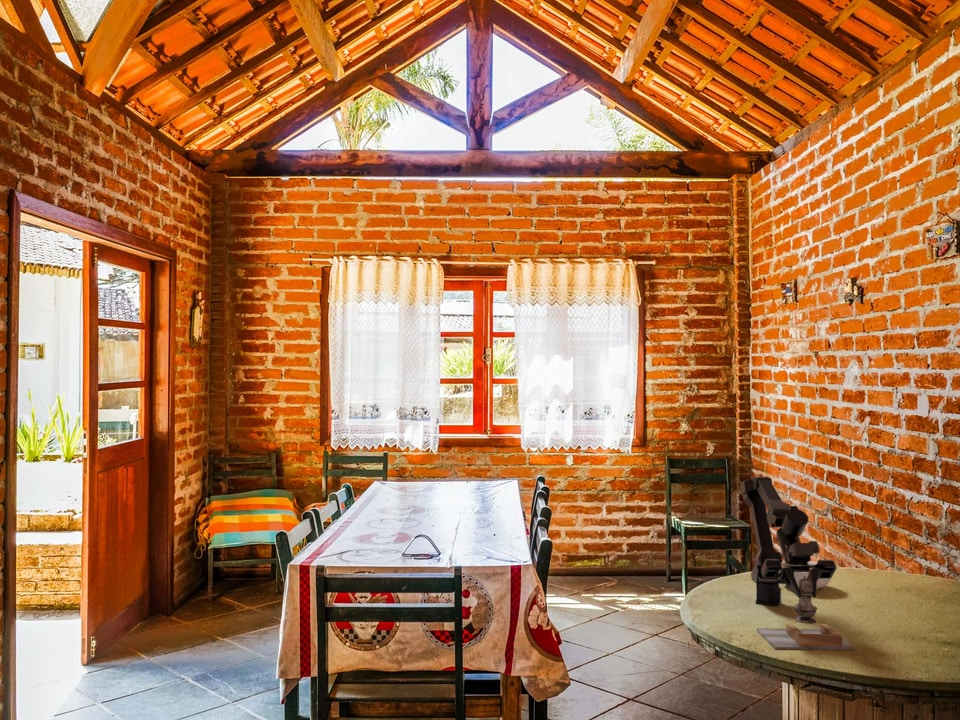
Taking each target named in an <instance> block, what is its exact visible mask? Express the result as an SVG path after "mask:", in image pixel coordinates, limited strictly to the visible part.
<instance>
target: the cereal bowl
mask: <svg viewBox="0 0 960 720" xmlns="http://www.w3.org/2000/svg"><path fill="white" fill-rule="evenodd" d="M782 561H783V563H785V561H784V560H782ZM817 562H818V561H812V560H810V562H808V564H812V565H816V564H817ZM804 576H806V579H807V577H808V574H807V572H794V577H795V579H796V582H797V585H798V588H799V581H800V580H801V579H803V578H804ZM831 581H832V578H829V579H818V580H817V585H816V590H818V589H819V588H824V587H825V586H827V585H828V584H829V583H830V582H831Z"/></svg>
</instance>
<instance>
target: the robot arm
mask: <svg viewBox="0 0 960 720" xmlns="http://www.w3.org/2000/svg"><path fill="white" fill-rule="evenodd" d="M739 491H740V495H742V499H743V502H744V503H745V504H746V505H747V506H748V507H749V509H750V513H751V518H752V524H753V531H754V536H755V541H756V546H757V555H756V556H755V559H754V564H753V567H752V570H751V571H750V577H751V581H752V582H754V583H755V584H756V589H755V590H756V591H755V592H756V593H755V595H756V596H755V597H756V600H755V604H760V605H761V604H762V605H768V606H776V607H777V606H779V604H780V603H782V602H781V601H782V587H780V584H781V585H785V586H787V587H788V589H790V590H791V591H792V592H793V594H794V596H796V597H797V598H798V599H799V598H800V597H801V594H800V590H799V588H798V585H797V582H796V579H795V577H794V572H807V574H808V577H807V579H808V580H809V581H810V582H811V593H812V595H811V597H812V598H813V599H815V598H816V597H817V589H816V585H817V580H818V579H829V578H831V579H833V578H832V577H833V575H834V574H835V572H836V570H837V568H838V567H837V565H836V562H835V561H834V560H832V559H818V561H816V562H817V564H816V565H812V564H808V562H810V561H812V560H811V559H812V558H811V557H813V556H815V555H817V554H819V553H820V546H819V543H818V541H817V540H810V541H808V542H802V541H801V539H800V536H802V535H803V533H804V531H805V530H806V527H807V525H808V523H809V516H808V515H807V514H806V512H804V511H803V510H802V509H799V508H798V506H797V505H791V504H789V503H787V502H785V501H783V500H782V498H781V496H780V494H779V493H778V491H777V489H776V488H775V486H774V484H773V480H772V478H771V477H770V476H769V477H768V476H755V477H753V478H751V479H744V480H743V481H742V482H741V483H740V484H739ZM771 528H778V529H777V531H776V539H775V540H776V541H777V542H778V544H779V548H780V551H781V552H779V551H777V550H776V549H775V547H774V543H773V537H772V533H771ZM783 561H785V563H783Z"/></svg>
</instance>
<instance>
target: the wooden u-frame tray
mask: <svg viewBox="0 0 960 720" xmlns="http://www.w3.org/2000/svg"><path fill="white" fill-rule="evenodd" d="M785 624H786V626H785V628H766V627H765V628H762V627H761V628H757V627H756V631H757V633H758V634H759V633H760V636H761V637H762V638H763V639H764V640H765V641H766V642H767V643H768V644H769V645H770V646H771V647H772V648H773V650H774V649H775V650H811V649H814V650H818V649H821V650H822V651H824V650H826V651H827V650H829V651H856V648H855V646H854V645H852V644H851V643H850V642H848V641H847V640H845V639H844V638H843V636H842V635H841V634H839V632H837V631H836V630H835V629H833V628H832V627H831V626H829V625H828V624H827V623H820V628H797V626H796V625H794V624H793V623H785ZM821 650H820V651H821Z"/></svg>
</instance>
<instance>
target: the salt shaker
mask: <svg viewBox="0 0 960 720" xmlns="http://www.w3.org/2000/svg"><path fill="white" fill-rule="evenodd" d="M799 590H800V594H801V597H800V598H798V603H796V604H793V608H794V611H795V613H796V614H797V617H795V618H794V621H796V622H797V623H800V624H805V625H806V624H807V625H812V624H816V623H817V620H816V619H815V618H813V617H815V616H816V613H817V610H818V607H816V606H815V605H813V603H812V593H811V582H810V581H809V580H808V579H806V576H804V578H803V579H801V580H800V581H799Z"/></svg>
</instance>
